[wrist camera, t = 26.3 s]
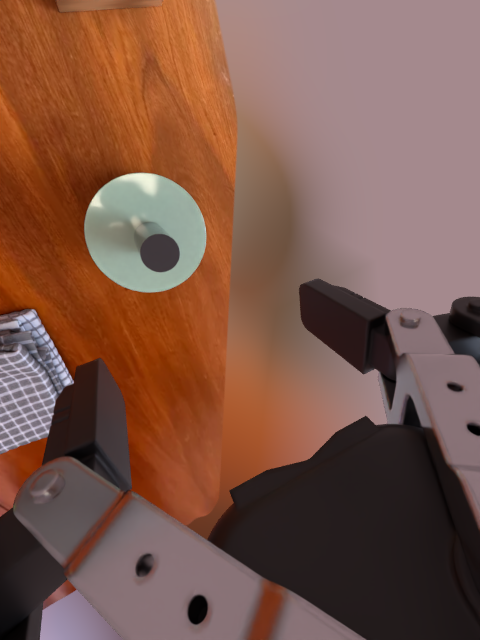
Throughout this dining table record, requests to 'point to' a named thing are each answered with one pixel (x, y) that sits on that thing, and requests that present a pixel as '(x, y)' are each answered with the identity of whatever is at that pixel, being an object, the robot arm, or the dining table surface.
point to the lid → (145, 232)
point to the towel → (27, 379)
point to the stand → (103, 4)
